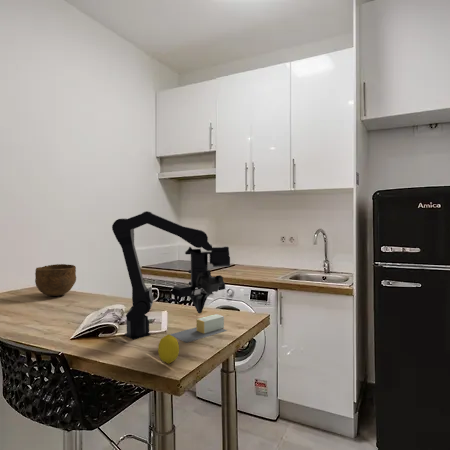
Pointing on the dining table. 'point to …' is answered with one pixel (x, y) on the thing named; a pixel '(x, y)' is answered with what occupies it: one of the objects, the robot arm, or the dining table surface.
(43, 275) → the bowl
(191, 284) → the robot arm
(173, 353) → the lemon
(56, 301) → the dining table surface
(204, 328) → the block
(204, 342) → the dining table surface
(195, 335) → the mat
